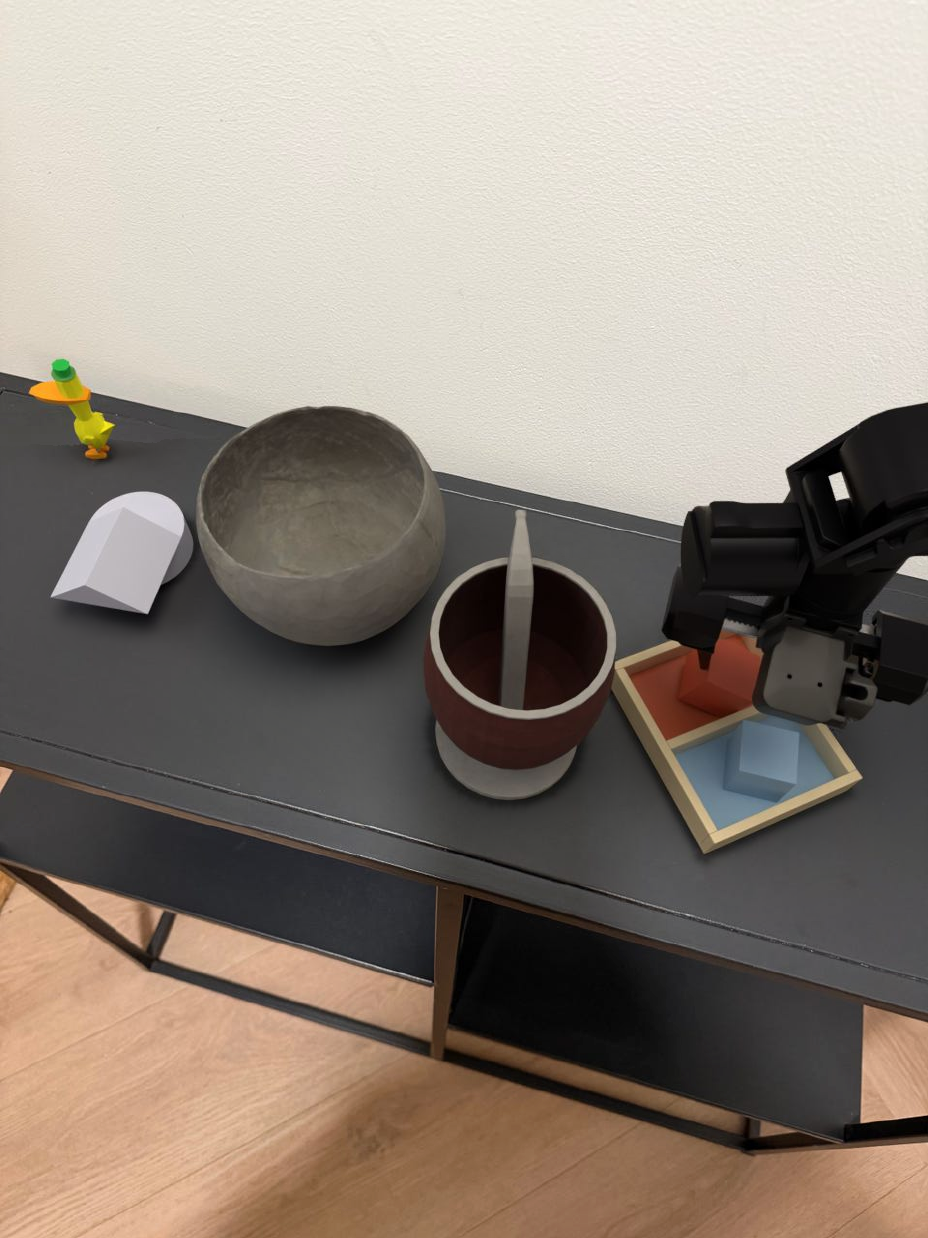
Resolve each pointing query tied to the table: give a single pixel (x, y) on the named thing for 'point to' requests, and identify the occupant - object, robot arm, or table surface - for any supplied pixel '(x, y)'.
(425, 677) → the mate gourd
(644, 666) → the sorting tray
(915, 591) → the table surface
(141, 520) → the wedge on round base
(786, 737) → the blue block
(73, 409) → the toy figure
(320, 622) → the bowl
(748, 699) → the red block
